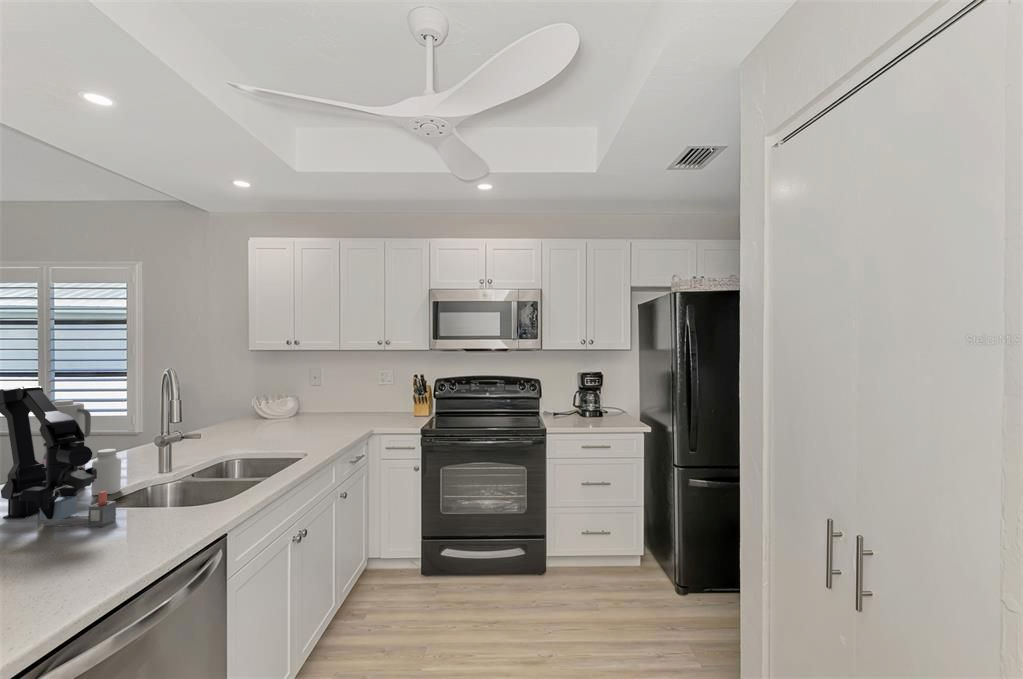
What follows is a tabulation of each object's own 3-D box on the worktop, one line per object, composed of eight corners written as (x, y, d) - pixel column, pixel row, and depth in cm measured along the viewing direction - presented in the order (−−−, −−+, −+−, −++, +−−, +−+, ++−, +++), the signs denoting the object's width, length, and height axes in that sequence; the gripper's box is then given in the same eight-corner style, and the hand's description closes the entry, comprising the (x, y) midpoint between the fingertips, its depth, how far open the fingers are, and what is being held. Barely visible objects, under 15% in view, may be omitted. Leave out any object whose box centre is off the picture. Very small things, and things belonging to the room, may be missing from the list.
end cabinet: (87, 527, 141) (87, 507, 141) (101, 521, 147) (102, 501, 147) (102, 527, 142) (102, 507, 142) (115, 521, 147) (115, 501, 147)
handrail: (43, 525, 142) (43, 519, 142) (50, 522, 145) (51, 516, 145) (90, 525, 143) (90, 519, 143) (96, 522, 145) (96, 516, 145)
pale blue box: (39, 519, 141) (39, 502, 141) (56, 512, 146) (56, 496, 146) (61, 519, 141) (61, 502, 141) (77, 512, 147) (77, 496, 147)
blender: (27, 495, 168) (29, 402, 168) (60, 485, 180) (62, 398, 180) (73, 496, 168) (74, 403, 168) (103, 486, 180) (104, 399, 180)
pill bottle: (104, 497, 168) (104, 453, 168) (85, 495, 170) (85, 452, 170) (126, 490, 176) (127, 448, 176) (108, 488, 177) (108, 447, 177)
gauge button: (96, 510, 143) (96, 493, 143) (101, 507, 145) (101, 490, 145) (103, 510, 143) (103, 493, 143) (108, 507, 145) (108, 491, 145)
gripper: (60, 471, 135) (59, 527, 135) (112, 454, 153) (111, 504, 153) (18, 470, 134) (17, 527, 134) (75, 454, 153) (74, 504, 153)
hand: (58, 515), depth 144 cm, fingers closed on pale blue box, 5 cm apart
